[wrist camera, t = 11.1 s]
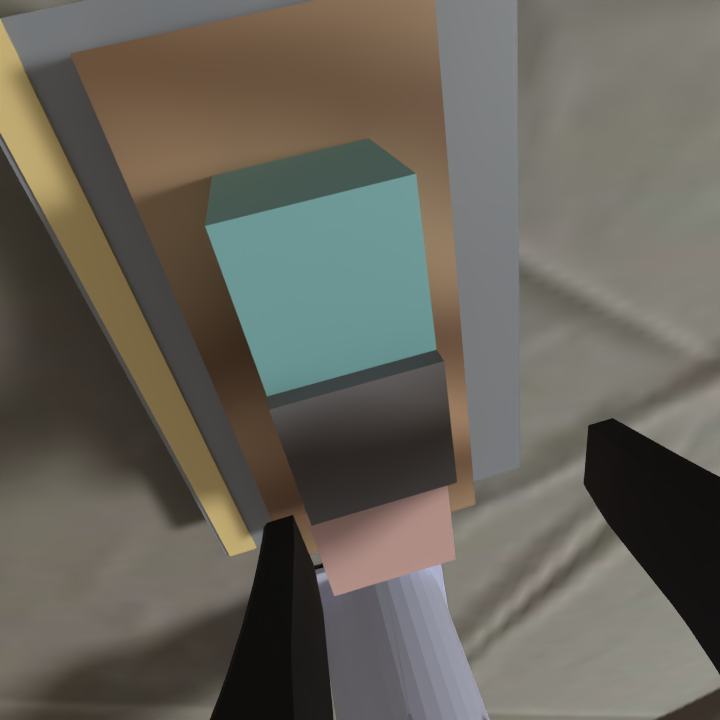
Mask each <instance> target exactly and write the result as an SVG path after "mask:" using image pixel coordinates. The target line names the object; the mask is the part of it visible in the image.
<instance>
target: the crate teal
mask: <svg viewBox="0 0 720 720" xmlns="http://www.w3.org/2000/svg"><path fill="white" fill-rule="evenodd" d="M205 227H206V230H207V233H208V236H209V238H210V241H211V244H212V246H213V249H214V252H215V255H216V257H217V260H218V263H219V266H220V268H221V271H222V274H223V277H224V279H225V282H226V285H227V288H228V290H229V293H230V296H231V299H232V301H233V304H234V307H235V310H236V312H237V315H238V318H239V321H240V323H241V326H242V329H243V332H244V334H245V337H246V340H247V343H248V345H249V348H250V351H251V354H252V356H253V359H254V362H255V364H256V367H257V370H258V373H259V375H260V378H261V381H262V384H263V386H264V389H265V392H266V395H267V396H271V395H274V394H278V393H281V392H285V391H289V390H292V389H296V388H300V387H303V386H307V385H310V384H314V383H318V382H321V381H325V380H329V379H332V378H336V377H339V376H343V375H347V374H350V373H354V372H358V371H361V370H365V369H368V368H372V367H376V366H379V365H383V364H387V363H390V362H394V361H397V360H401V359H405V358H408V357H412V356H416V355H419V354H423V353H427V352H430V351H434V350H436V341H435V332H434V324H433V315H432V306H431V298H430V289H429V280H428V272H427V263H426V254H425V246H424V237H423V228H422V220H421V211H420V203H419V194H418V185H417V177H416V173H415V172H413V171H412V170H411V169H409V168H408V167H407V166H405V165H404V164H403V163H401V162H400V161H399V160H397V159H396V158H395V157H393V156H392V155H391V154H389V153H388V152H387V151H385V150H384V149H382V148H381V147H380V146H378V145H377V144H376V143H374V142H373V141H372V140H370V139H369V138H367V139H363V140H359V141H355V142H351V143H347V144H342V145H338V146H334V147H330V148H326V149H322V150H317V151H313V152H309V153H305V154H301V155H297V156H293V157H288V158H284V159H280V160H276V161H272V162H268V163H263V164H259V165H255V166H251V167H247V168H243V169H239V170H234V171H230V172H226V173H222V174H218V175H214V176H212V180H211V187H210V194H209V201H208V209H207V216H206V223H205Z"/></svg>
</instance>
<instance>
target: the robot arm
mask: <svg viewBox="0 0 720 720" xmlns="http://www.w3.org/2000/svg"><path fill="white" fill-rule="evenodd" d="M584 485H585V487H586V489H587V491H588V492H589V494H590V496H591V497H592V499H593V501H594V502H595V504H596V506H597V507H598V509H599V510H600V512H601V514H602V515H603V517H604V518H605V520H606V521H607V523H608V524H609V525H610V527H611V528H612V529H613V531H614V532H615V533H616V534H617V536H618V537H619V538H620V540H621V541H622V542H623V543H624V545H625V546H626V547H627V548H628V550H629V551H630V552H631V554H632V555H633V556H634V557H635V559H636V560H637V561H638V562H639V564H640V565H641V566H642V567H643V569H644V570H645V571H646V572H647V574H648V575H649V576H650V577H651V579H652V580H653V581H654V582H655V584H656V585H657V586H658V587H659V589H660V590H661V591H662V592H663V594H664V595H665V596H666V597H667V599H668V600H669V601H670V602H671V604H672V605H673V606H674V608H675V609H676V610H677V612H678V613H679V614H680V616H681V617H682V618H683V620H684V621H685V622H686V624H687V625H688V627H689V628H690V630H691V631H692V633H693V634H694V636H695V637H696V639H697V640H698V642H699V643H700V645H701V646H702V648H703V649H704V651H705V652H706V654H707V655H708V657H709V658H710V660H711V661H712V663H713V664H714V666H715V668H716V669H717V671H718V672H719V674H720V477H719V476H717V475H715V474H713V473H711V472H709V471H707V470H705V469H704V468H702V467H700V466H698V465H696V464H694V463H692V462H690V461H689V460H687V459H685V458H683V457H681V456H679V455H678V454H676V453H674V452H672V451H670V450H669V449H667V448H665V447H663V446H661V445H660V444H658V443H656V442H654V441H652V440H651V439H649V438H647V437H645V436H644V435H642V434H640V433H638V432H636V431H635V430H633V429H631V428H629V427H628V426H626V425H624V424H622V423H620V422H618V421H617V420H615V419H613V418H612V419H608V420H605V421H602V422H598V423H595V424H592V425H589V426H588V438H587V450H586V462H585V474H584ZM329 674H330V676H329ZM330 681H331V687H332V694H333V700H334V707H335V713H336V720H489V717H488V714H487V712H486V709H485V706H484V704H483V701H482V698H481V696H480V693H479V690H478V688H477V685H476V682H475V680H474V677H473V675H472V672H471V669H470V667H469V664H468V661H467V659H466V656H465V653H464V651H463V648H462V645H461V643H460V640H459V637H458V635H457V632H456V629H455V627H454V624H453V621H452V619H451V616H450V613H449V611H448V606H447V599H446V593H445V586H444V580H443V573H442V567H441V564H439V565H436V566H433V567H429V568H426V569H423V570H419V571H416V572H413V573H410V574H406V575H403V576H400V577H396V578H393V579H390V580H386V581H383V582H380V583H377V584H373V585H370V586H367V587H363V588H360V589H357V590H353V591H350V592H347V593H344V594H340V595H337V596H334V594H333V591H332V588H331V586H330V583H329V580H328V577H327V574H326V572H325V569H324V567H323V568H320V569H316V570H315V567H314V565H313V562H312V560H311V557H310V555H309V552H308V550H307V548H306V545H305V543H304V540H303V538H302V535H301V533H300V531H299V528H298V526H297V523H296V521H295V518H294V516H293V515H291V516H287V517H284V518H281V519H278V520H274V521H271V522H268V523H266V525H265V526H264V528H263V536H262V543H261V549H260V554H259V559H258V564H257V569H256V573H255V578H254V582H253V587H252V591H251V594H250V598H249V602H248V606H247V610H246V614H245V617H244V621H243V625H242V628H241V631H240V634H239V638H238V641H237V644H236V647H235V650H234V653H233V657H232V660H231V663H230V666H229V669H228V672H227V675H226V678H225V681H224V683H223V686H222V689H221V692H220V694H219V697H218V700H217V702H216V705H215V708H214V710H213V713H212V715H211V718H210V720H334V719H333V709H332V698H331V687H330Z"/></svg>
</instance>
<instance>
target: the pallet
mask: <svg viewBox="0 0 720 720" xmlns="http://www.w3.org/2000/svg"><path fill="white" fill-rule="evenodd" d="M70 55H71V58H72V60H73V62H74V64H75V67H76V69H77V71H78V74H79V76H80V78H81V81H82V83H83V85H84V87H85V90H86V92H87V94H88V97H89V99H90V101H91V104H92V106H93V108H94V111H95V113H96V115H97V117H98V120H99V122H100V124H101V127H102V129H103V131H104V134H105V136H106V138H107V141H108V143H109V145H110V147H111V150H112V152H113V154H114V157H115V159H116V161H117V164H118V166H119V168H120V171H121V173H122V175H123V177H124V180H125V182H126V184H127V187H128V189H129V191H130V194H131V196H132V198H133V200H134V203H135V205H136V207H137V210H138V212H139V214H140V217H141V219H142V221H143V224H144V226H145V228H146V230H147V233H148V235H149V237H150V240H151V242H152V244H153V247H154V249H155V251H156V254H157V256H158V258H159V260H160V263H161V265H162V267H163V270H164V272H165V274H166V277H167V279H168V281H169V284H170V286H171V288H172V290H173V293H174V295H175V297H176V300H177V302H178V304H179V307H180V309H181V311H182V313H183V316H184V318H185V320H186V323H187V325H188V327H189V330H190V332H191V334H192V337H193V339H194V341H195V343H196V346H197V348H198V350H199V353H200V355H201V357H202V360H203V362H204V364H205V367H206V369H207V371H208V373H209V376H210V378H211V380H212V383H213V385H214V387H215V390H216V392H217V394H218V396H219V399H220V401H221V403H222V406H223V408H224V410H225V413H226V415H227V417H228V420H229V422H230V424H231V426H232V429H233V431H234V433H235V436H236V438H237V440H238V443H239V445H240V447H241V450H242V452H243V454H244V456H245V459H246V461H247V463H248V466H249V468H250V470H251V473H252V475H253V477H254V480H255V482H256V484H257V486H258V489H259V491H260V493H261V496H262V498H263V500H264V503H265V505H266V507H267V509H268V512H269V514H270V516H271V519H272V521H274V520H278V519H281V518H284V517H287V516H291V515H293V516H294V518H295V521H296V523H297V526H298V528H299V531H300V533H301V535H302V538H303V540H304V543H305V545H306V548H307V550H308V552H309V554H312V553H316V552H318V549H317V546H316V544H315V541H314V538H313V535H312V532H311V530H310V527H309V524H308V521H307V518H306V516H305V512H304V507H305V509H306V512H307V515H308V517H309V520H310V523H311V526H313V525H316V524H320V523H323V522H326V521H330V520H333V519H336V518H340V517H343V516H347V515H350V514H353V513H357V512H360V511H363V510H367V509H370V508H374V507H377V506H380V505H384V504H387V503H390V502H394V501H397V500H400V499H404V498H407V497H411V496H414V495H417V494H421V493H424V492H427V491H431V490H434V489H438V488H441V487H444V486H448V494H449V503H450V512H452V511H455V510H458V509H462V508H465V507H468V506H472V505H475V493H474V481H473V468H472V456H471V443H470V431H469V419H468V406H467V394H466V381H465V369H464V356H463V344H462V331H461V319H460V306H459V294H458V282H457V269H456V257H455V244H454V232H453V219H452V207H451V194H450V182H449V169H448V157H447V145H446V132H445V120H444V107H443V95H442V82H441V70H440V57H439V45H438V32H437V20H436V8H435V0H314V1H309V2H304V3H300V4H295V5H291V6H286V7H281V8H277V9H272V10H268V11H263V12H259V13H254V14H249V15H245V16H240V17H236V18H231V19H226V20H222V21H217V22H213V23H208V24H204V25H199V26H194V27H190V28H185V29H181V30H176V31H171V32H167V33H162V34H158V35H153V36H149V37H144V38H139V39H135V40H130V41H126V42H121V43H116V44H112V45H107V46H103V47H98V48H94V49H89V50H84V51H80V52H75V53H71V54H70ZM367 138H369V139H370V140H372V141H373V142H374V143H376V144H377V145H378V146H380V147H381V148H382V149H384V150H385V151H387V152H388V153H389V154H391V155H392V156H393V157H395V158H396V159H397V160H399V161H400V162H401V163H403V164H404V165H405V166H407V167H408V168H409V169H411V170H412V171H413V172H415V173H416V177H417V185H418V194H419V203H420V211H421V220H422V228H423V237H424V246H425V254H426V263H427V272H428V280H429V289H430V298H431V306H432V315H433V324H434V332H435V341H436V350H434V351H430V352H427V353H423V354H419V355H416V356H412V357H408V358H405V359H401V360H397V361H394V362H390V363H387V364H383V365H379V366H376V367H372V368H368V369H365V370H361V371H358V372H354V373H350V374H347V375H343V376H339V377H336V378H332V379H329V380H325V381H321V382H318V383H314V384H310V385H307V386H303V387H300V388H296V389H292V390H289V391H285V392H281V393H278V394H274V395H271V396H267V395H266V392H265V389H264V386H263V384H262V381H261V378H260V375H259V373H258V370H257V367H256V364H255V362H254V359H253V356H252V354H251V351H250V348H249V345H248V343H247V340H246V337H245V334H244V332H243V329H242V326H241V323H240V321H239V318H238V315H237V312H236V310H235V307H234V304H233V301H232V299H231V296H230V293H229V290H228V288H227V285H226V282H225V279H224V277H223V274H222V271H221V268H220V266H219V263H218V260H217V257H216V255H215V252H214V249H213V246H212V244H211V241H210V238H209V236H208V233H207V230H206V227H205V223H206V216H207V209H208V201H209V194H210V187H211V180H212V176H214V175H218V174H222V173H226V172H230V171H234V170H239V169H243V168H247V167H251V166H255V165H259V164H263V163H268V162H272V161H276V160H280V159H284V158H288V157H293V156H297V155H301V154H305V153H309V152H313V151H317V150H322V149H326V148H330V147H334V146H338V145H342V144H347V143H351V142H355V141H359V140H363V139H367ZM303 504H304V505H303Z"/></svg>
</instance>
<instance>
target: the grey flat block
mask: <svg viewBox="0 0 720 720" xmlns="http://www.w3.org/2000/svg"><path fill="white" fill-rule="evenodd" d="M309 1H314V0H85V1H80V2H75V3H70V4H66V5H61V6H56V7H52V8H47V9H42V10H37V11H33V12H28V13H23V14H19V15H14V16H9V17H4V18H0V146H1V148H2V150H3V152H4V153H5V155H6V157H7V159H8V161H9V163H10V164H11V166H12V168H13V170H14V172H15V173H16V175H17V177H18V179H19V181H20V183H21V184H22V186H23V188H24V190H25V192H26V193H27V195H28V197H29V199H30V201H31V203H32V204H33V206H34V208H35V210H36V212H37V213H38V215H39V217H40V219H41V221H42V223H43V224H44V226H45V228H46V230H47V232H48V234H49V235H50V237H51V239H52V241H53V243H54V244H55V246H56V248H57V250H58V252H59V254H60V255H61V257H62V259H63V261H64V263H65V264H66V266H67V268H68V270H69V272H70V274H71V275H72V277H73V279H74V281H75V283H76V284H77V286H78V288H79V290H80V292H81V294H82V295H83V297H84V299H85V301H86V303H87V304H88V306H89V308H90V310H91V312H92V314H93V315H94V317H95V319H96V321H97V323H98V324H99V326H100V328H101V330H102V332H103V334H104V335H105V337H106V339H107V341H108V343H109V345H110V346H111V348H112V350H113V352H114V354H115V355H116V357H117V359H118V361H119V363H120V365H121V366H122V368H123V370H124V372H125V374H126V375H127V377H128V379H129V381H130V383H131V385H132V386H133V388H134V390H135V392H136V394H137V395H138V397H139V399H140V401H141V403H142V405H143V406H144V408H145V410H146V412H147V414H148V415H149V417H150V419H151V421H152V423H153V425H154V426H155V428H156V430H157V432H158V434H159V435H160V437H161V439H162V441H163V443H164V445H165V446H166V448H167V450H168V452H169V454H170V456H171V457H172V459H173V461H174V463H175V465H176V466H177V468H178V470H179V472H180V474H181V476H182V477H183V479H184V481H185V483H186V485H187V486H188V488H189V490H190V492H191V494H192V496H193V497H194V499H195V501H196V503H197V505H198V506H199V508H200V510H201V512H202V514H203V516H204V517H205V519H206V521H207V523H208V525H209V526H210V528H211V530H212V532H213V534H214V536H215V537H216V539H217V541H218V543H219V545H220V546H221V548H222V550H223V552H224V554H225V556H227V555H230V556H233V555H236V554H240V553H243V552H246V551H250V550H253V549H256V547H257V546H260V545H261V543H262V536H263V528H264V526H265V525H266V523H268V522H271V521H272V519H271V516H270V514H269V512H268V509H267V507H266V505H265V503H264V500H263V498H262V496H261V493H260V491H259V489H258V486H257V484H256V482H255V480H254V477H253V475H252V473H251V470H250V468H249V466H248V463H247V461H246V459H245V456H244V454H243V452H242V450H241V447H240V445H239V443H238V440H237V438H236V436H235V433H234V431H233V429H232V426H231V424H230V422H229V420H228V417H227V415H226V413H225V410H224V408H223V406H222V403H221V401H220V399H219V396H218V394H217V392H216V390H215V387H214V385H213V383H212V380H211V378H210V376H209V373H208V371H207V369H206V367H205V364H204V362H203V360H202V357H201V355H200V353H199V350H198V348H197V346H196V343H195V341H194V339H193V337H192V334H191V332H190V330H189V327H188V325H187V323H186V320H185V318H184V316H183V313H182V311H181V309H180V307H179V304H178V302H177V300H176V297H175V295H174V293H173V290H172V288H171V286H170V284H169V281H168V279H167V277H166V274H165V272H164V270H163V267H162V265H161V263H160V260H159V258H158V256H157V254H156V251H155V249H154V247H153V244H152V242H151V240H150V237H149V235H148V233H147V230H146V228H145V226H144V224H143V221H142V219H141V217H140V214H139V212H138V210H137V207H136V205H135V203H134V200H133V198H132V196H131V194H130V191H129V189H128V187H127V184H126V182H125V180H124V177H123V175H122V173H121V171H120V168H119V166H118V164H117V161H116V159H115V157H114V154H113V152H112V150H111V147H110V145H109V143H108V141H107V138H106V136H105V134H104V131H103V129H102V127H101V124H100V122H99V120H98V117H97V115H96V113H95V111H94V108H93V106H92V104H91V101H90V99H89V97H88V94H87V92H86V90H85V87H84V85H83V83H82V81H81V78H80V76H79V74H78V71H77V69H76V67H75V64H74V62H73V60H72V58H71V55H70V54H71V53H75V52H80V51H84V50H89V49H94V48H98V47H103V46H107V45H112V44H116V43H121V42H126V41H130V40H135V39H139V38H144V37H149V36H153V35H158V34H162V33H167V32H171V31H176V30H181V29H185V28H190V27H194V26H199V25H204V24H208V23H213V22H217V21H222V20H226V19H231V18H236V17H240V16H245V15H249V14H254V13H259V12H263V11H268V10H272V9H277V8H281V7H286V6H291V5H295V4H300V3H304V2H309ZM435 8H436V20H437V32H438V45H439V57H440V70H441V82H442V95H443V107H444V120H445V132H446V145H447V157H448V169H449V182H450V194H451V207H452V219H453V232H454V244H455V257H456V269H457V282H458V294H459V306H460V319H461V331H462V344H463V356H464V369H465V381H466V394H467V406H468V419H469V431H470V443H471V456H472V468H473V481H474V482H475V481H478V480H481V479H485V478H488V477H491V476H495V475H498V474H501V473H505V472H508V471H512V470H515V469H518V468H520V364H519V200H518V35H517V0H435Z"/></svg>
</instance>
